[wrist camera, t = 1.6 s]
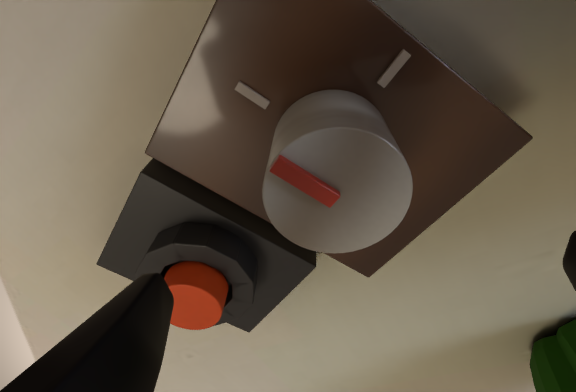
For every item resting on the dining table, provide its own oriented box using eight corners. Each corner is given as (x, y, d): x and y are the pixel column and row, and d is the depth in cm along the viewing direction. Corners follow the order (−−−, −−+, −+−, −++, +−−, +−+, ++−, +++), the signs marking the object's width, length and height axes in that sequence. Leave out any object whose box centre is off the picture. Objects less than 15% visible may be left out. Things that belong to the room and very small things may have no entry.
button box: (316, 247, 21) (317, 290, 18) (252, 312, 25) (245, 357, 22) (153, 156, 18) (123, 190, 15) (109, 246, 22) (79, 287, 19)
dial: (413, 133, 14) (450, 188, 10) (339, 211, 16) (347, 279, 12) (317, 63, 12) (321, 97, 9) (252, 158, 15) (233, 217, 11)
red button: (240, 279, 19) (234, 304, 17) (211, 312, 20) (203, 338, 19) (181, 250, 18) (169, 274, 16) (155, 287, 19) (143, 313, 18)
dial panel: (499, 113, 16) (536, 139, 13) (361, 242, 21) (369, 280, 18) (269, -79, 13) (259, -95, 10) (167, 128, 17) (142, 155, 15)
